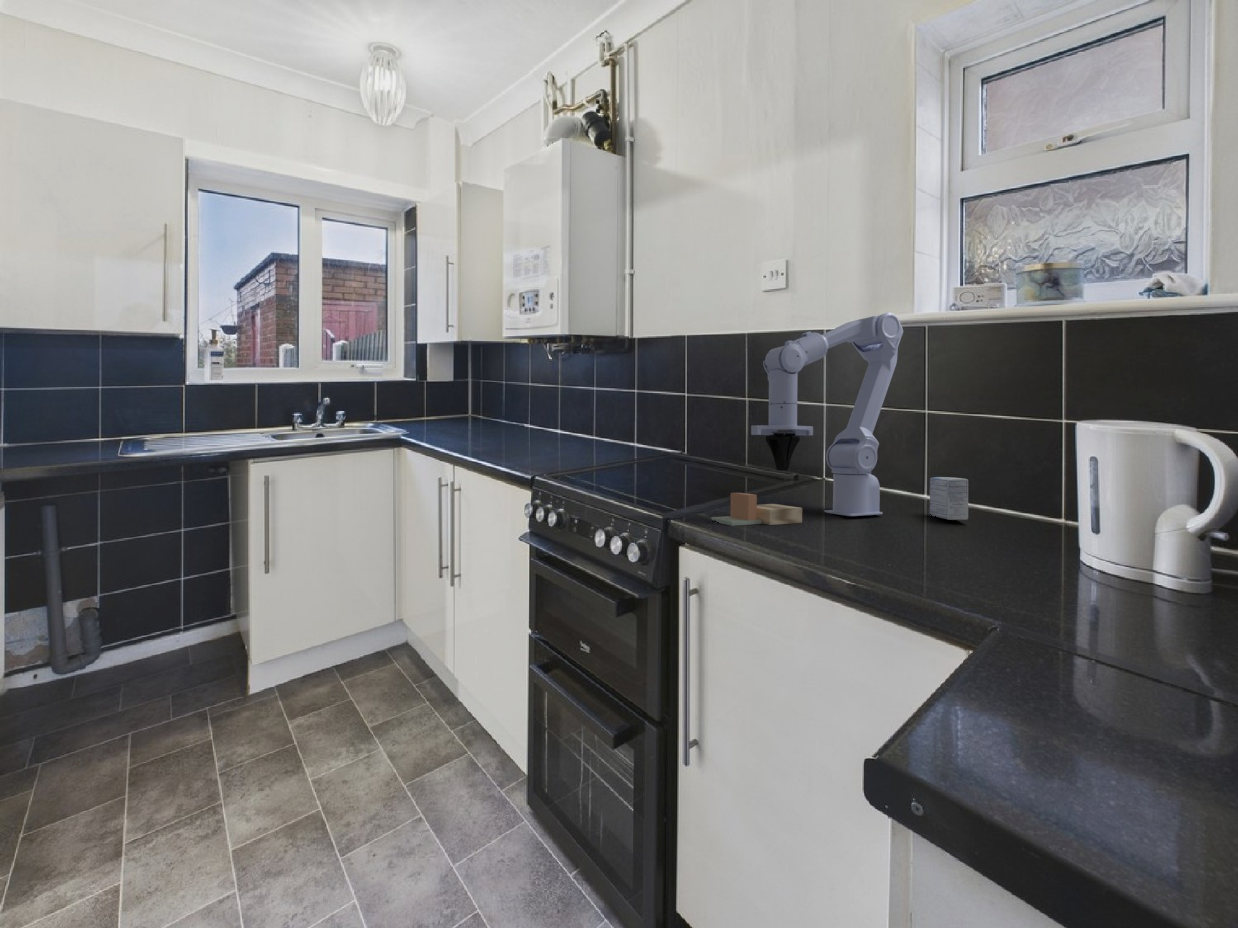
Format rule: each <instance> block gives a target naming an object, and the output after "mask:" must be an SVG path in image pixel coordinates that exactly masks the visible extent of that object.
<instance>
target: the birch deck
mask: <svg viewBox="0 0 1238 928" xmlns="http://www.w3.org/2000/svg"><path fill="white" fill-rule="evenodd" d="M757 519H760V520H762V524H764V525H769V526H771V525H772V526H773V525H786V524H787V525H789V524H791V525H792V524H803V507H799V506H798V507H797V506H792V505H784V504H777V503H766V504H763V503H762V504H761V503H760V504H757Z"/></svg>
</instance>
